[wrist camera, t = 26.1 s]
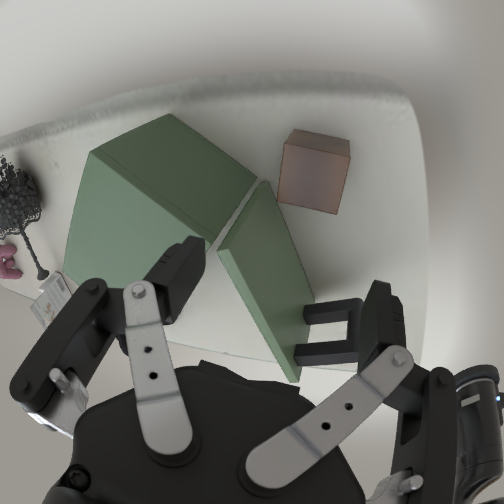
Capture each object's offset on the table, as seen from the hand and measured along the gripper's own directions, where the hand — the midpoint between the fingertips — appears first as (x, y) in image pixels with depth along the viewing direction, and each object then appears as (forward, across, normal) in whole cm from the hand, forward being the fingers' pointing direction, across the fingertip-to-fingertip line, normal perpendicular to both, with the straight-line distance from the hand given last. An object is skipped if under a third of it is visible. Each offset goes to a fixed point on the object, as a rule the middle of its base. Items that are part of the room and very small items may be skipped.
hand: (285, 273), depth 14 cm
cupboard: (+16, +14, +7) cm, 23 cm away
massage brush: (+16, +42, +13) cm, 47 cm away
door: (+16, -2, +9) cm, 19 cm away
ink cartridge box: (+16, +42, +33) cm, 55 cm away
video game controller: (+16, +60, +29) cm, 69 cm away
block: (+16, 0, 0) cm, 16 cm away
